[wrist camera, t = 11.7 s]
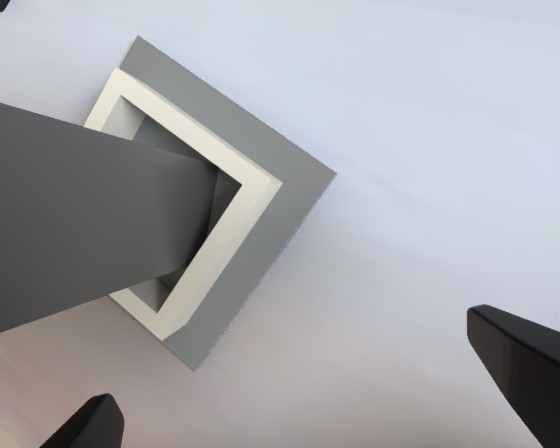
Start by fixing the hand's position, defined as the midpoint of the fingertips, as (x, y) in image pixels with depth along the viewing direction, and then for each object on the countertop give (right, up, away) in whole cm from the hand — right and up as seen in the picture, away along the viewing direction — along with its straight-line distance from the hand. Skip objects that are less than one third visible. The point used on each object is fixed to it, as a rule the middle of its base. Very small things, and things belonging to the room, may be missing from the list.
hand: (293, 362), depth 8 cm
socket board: (-7, +5, +12) cm, 14 cm away
